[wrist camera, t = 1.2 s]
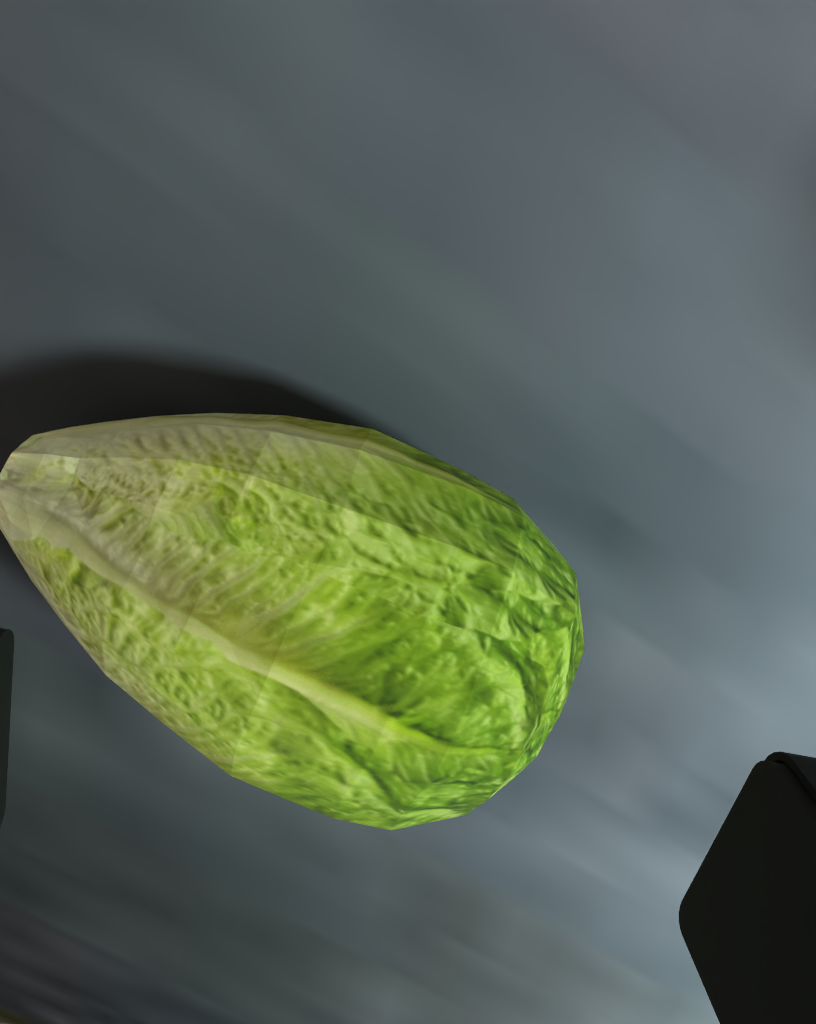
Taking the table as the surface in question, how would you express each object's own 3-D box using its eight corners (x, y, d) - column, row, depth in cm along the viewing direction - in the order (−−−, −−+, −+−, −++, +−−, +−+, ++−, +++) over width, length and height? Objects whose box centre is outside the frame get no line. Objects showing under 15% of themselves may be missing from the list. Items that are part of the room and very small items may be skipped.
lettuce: (31, 227, 22) (-215, 662, 19) (681, 505, 24) (551, 941, 21) (123, 378, 35) (-17, 655, 32) (545, 553, 37) (451, 830, 34)
